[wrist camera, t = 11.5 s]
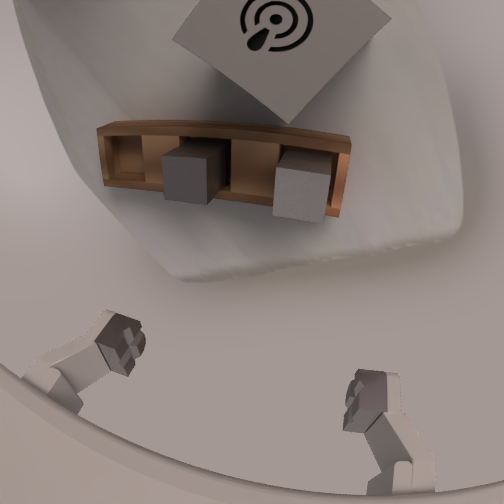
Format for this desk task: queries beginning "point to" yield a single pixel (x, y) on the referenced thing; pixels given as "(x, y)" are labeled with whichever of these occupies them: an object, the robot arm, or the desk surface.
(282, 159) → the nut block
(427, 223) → the desk surface
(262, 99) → the icon cube
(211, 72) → the desk surface
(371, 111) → the desk surface
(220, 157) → the block
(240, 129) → the wooden compartment tray
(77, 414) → the robot arm
